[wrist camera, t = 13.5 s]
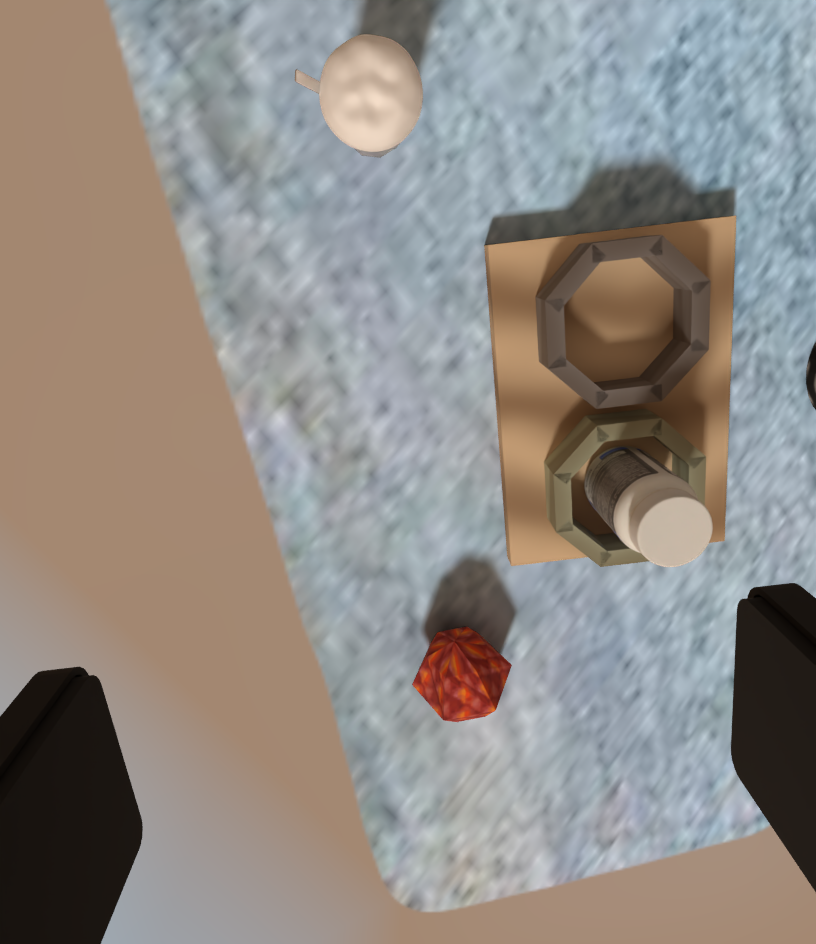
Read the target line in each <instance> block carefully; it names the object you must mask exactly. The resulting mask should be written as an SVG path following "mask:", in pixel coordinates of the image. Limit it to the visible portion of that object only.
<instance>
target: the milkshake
mask: <svg viewBox="0 0 816 944" xmlns="http://www.w3.org/2000/svg"><path fill="white" fill-rule="evenodd" d="M295 81H296V82H297V83H299V84H301V85H303V86H305V87H306V88H308V89H310V90H312V91H314V92H316V93H318V94H319V97H320V105H321V110H322V113H323V116H324V118H325V120H326V122H327V124H328V126H329V127H330V129H331V130H332V131H333V133H334V134H335V135H336V136H337V137H338V138H339V139H340V140H341V141H343V142H344V143H345V144H347V145H349V146H351V147H352V148H354V149H355V150H356V151H357V152H359V153H360V155H362V156H369V157H377V158H381V157H382V156H384V155H386V154H387V153H389V152H390V151H392V150H394V149H395V148H397V146H398V145H399V144H400V143H401V142H402V141H403V140H404V139H405V138H406V137H407V136H408V135H409V133H410V132H411V131H412V129H413V128H414V126H415V125H416V123H417V121H418V119H419V116H420V112H421V108H422V100H423V90H422V82H421V78H420V74H419V72H418V69H417V67H416V65H415V63H414V61H413V59H412V58H411V56H410V55H409V53H408V52H407V51H406V50H405V49H404V48H403V47H402V46H401V45H400V44H398V43H397V42H395V41H394V40H392V39H389V38H386V37H382V36H377V35H370V34H363V35H358V36H355V37H353V38H351V39H350V40H348V41H346V42H345V43H343V44H342V45H341V46H339V47H338V48H337V49H336V50H334V52H333V53H332V54H331V55H330V56H329V58H328V59H327V61H326V63H325V65H324V68H323V71H322V75H321V79H320V82H319V81H317V80H315V79H314V78H312V77H310V76H308V75H306V74H305V73H303V72H301V71H299V70H297V69H296V70H295Z"/></svg>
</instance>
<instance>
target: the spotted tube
mask: <svg viewBox="0 0 816 944" xmlns="http://www.w3.org/2000/svg"><path fill="white" fill-rule="evenodd" d="M806 385H807V390H808V395H809V398H810V400H811V403H812V405H813V407H814V408H815V409H816V344H815V345H814V348H813V350H812V353H811V355H810V358H809V362H808V367H807V372H806Z"/></svg>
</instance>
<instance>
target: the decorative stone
mask: <svg viewBox="0 0 816 944" xmlns="http://www.w3.org/2000/svg"><path fill="white" fill-rule="evenodd" d="M511 666H512V665H511V664H510V663H509V662H508V661H507V660H506V659H505V658H504V657H503V656H502V655H501V654H499V653H498V652H497V651H496V650H495V649H494V648H493V647H492V646H491V645H490V644H489V643H488V642H487V641H486V640H485V639H484V638H483V637H482V636H481V635H480V634H478V633H477V632H475V631H474V630H472V629H470V628H469V627H462V628H457V629H452V630H447V631H441V632H438V633H437V634H436V636H435V637H434V639H433V641H432V642H431V644H430V646H429V649H428V651H427V653H426V655H425V657H424V660H423V662H422V664H421V666H420V668H419V671H418V673H417V675H416V677H415V679H414V682H413V684H412V685H413V686H414V687H415V688H416V689H417V691H418V692H419V693H420V694H421V695H422V696H423V697H424V699H425V700H426V701H427V702H428V703H429V704H430V705H431V707H432V708H433V709H434V710H435V711H436V712H437V713H438V715H439V716H440V717H441V718H442V719H443V720H445V721H453V722H459V721H464V720H469V719H475V718H480V717H485V716H487V715H489V714H490V713H492V712H494V711H495V710H496V708H497V705H498V702H499V700H500V697H501V694H502V691H503V688H504V685H505V683H506V680H507V677H508V674H509V671H510V668H511Z"/></svg>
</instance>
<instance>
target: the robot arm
mask: <svg viewBox="0 0 816 944" xmlns="http://www.w3.org/2000/svg"><path fill="white" fill-rule="evenodd" d="M731 755H732V761H733V764H734V768H735V770H736V773H737V775H738V776H739V778H740V780H741V781H742V783H743V784H744V786H745V787H746V789H747V790H748V792H749V793H750V795H751V796H752V798H753V799H754V801H755V802H756V804H757V805H758V807H759V808H760V810H761V811H762V813H763V814H764V816H765V817H766V819H767V820H768V822H769V823H770V825H771V826H772V828H773V829H774V831H775V832H776V834H777V835H778V837H779V838H780V839H781V841H782V842H783V844H784V845H785V847H786V848H787V850H788V851H789V853H790V854H791V856H792V857H793V859H794V860H795V862H796V863H797V865H798V866H799V868H800V869H801V871H802V872H803V874H804V875H805V877H806V878H807V880H808V881H809V883H810V884H811V886H812V887H813V888H814V890H815V892H816V598H815V597H813V596H812V595H811V594H810V593H808V592H807V591H806V590H805V589H804V588H802V587H801V586H799V585H798V584H796V583H789V584H780V585H771V586H763V587H754V588H753V589H751V590H750V592H749V594H748V598H747V599H742V600H740V601H739V603H738V607H737V623H736V646H735V669H734V692H733V715H732V738H731ZM141 840H142V819H141V815H140V812H139V809H138V805H137V802H136V799H135V795H134V792H133V789H132V786H131V782H130V779H129V775H128V772H127V769H126V766H125V762H124V759H123V756H122V752H121V749H120V745H119V742H118V739H117V735H116V732H115V729H114V725H113V722H112V718H111V715H110V712H109V709H108V705H107V702H106V699H105V695H104V692H103V688H102V685H101V683H100V680H99V679H98V678H97V677H96V676H94V675H91V676H89V675H88V673H87V672H86V670H85V669H84V668H81V667H73V668H64V669H56V670H47V671H41V672H38V673H37V674H35V675H34V676H33V677H32V679H31V680H30V681H29V683H27V685H26V686H25V687H24V688H23V689H22V691H21V692H20V693H19V694H18V696H17V697H16V698H15V699H14V700H13V702H12V703H11V704H10V705H9V707H8V708H7V709H6V711H5V712H4V713H3V714H2V715H1V716H0V944H101V941H102V939H103V936H104V934H105V931H106V929H107V926H108V924H109V921H110V919H111V917H112V914H113V912H114V909H115V907H116V904H117V902H118V900H119V897H120V895H121V892H122V890H123V887H124V885H125V882H126V880H127V878H128V875H129V873H130V870H131V868H132V865H133V863H134V860H135V858H136V855H137V853H138V851H139V848H140V845H141Z"/></svg>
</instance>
